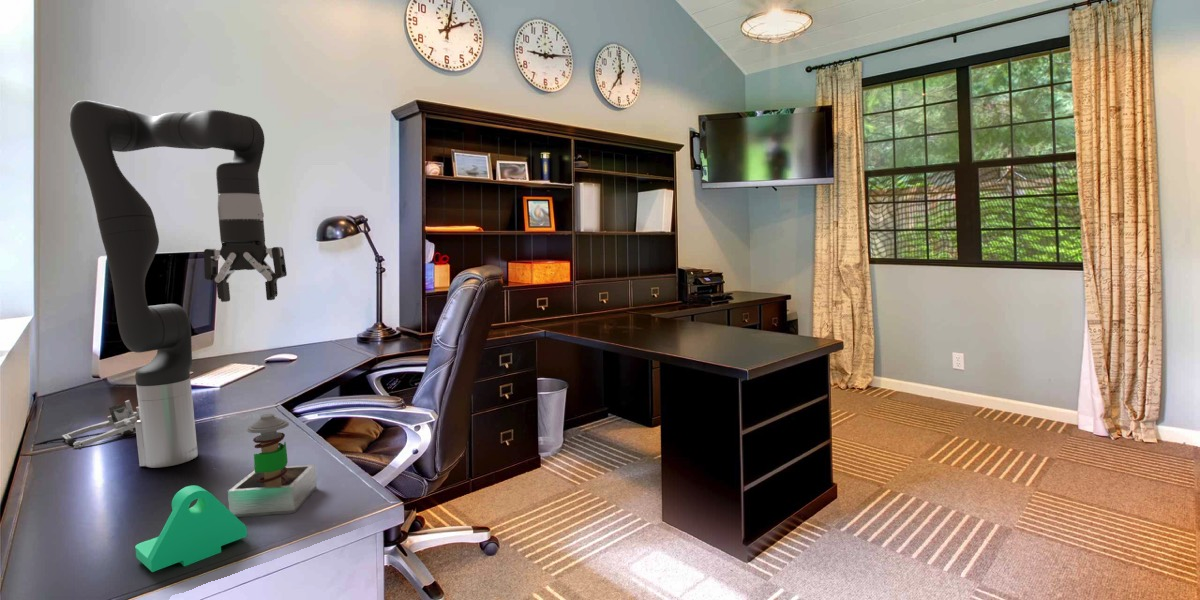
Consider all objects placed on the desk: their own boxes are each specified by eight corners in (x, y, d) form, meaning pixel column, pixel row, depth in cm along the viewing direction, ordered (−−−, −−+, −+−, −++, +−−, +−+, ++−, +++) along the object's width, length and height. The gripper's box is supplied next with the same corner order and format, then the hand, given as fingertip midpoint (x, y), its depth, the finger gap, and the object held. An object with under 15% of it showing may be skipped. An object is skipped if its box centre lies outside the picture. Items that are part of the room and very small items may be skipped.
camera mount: (227, 529, 95) (221, 467, 94) (247, 543, 90) (242, 477, 89) (135, 562, 86) (127, 493, 85) (153, 579, 81) (145, 507, 80)
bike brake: (138, 420, 156) (37, 454, 141) (131, 396, 154) (28, 427, 139) (155, 430, 148) (50, 467, 133) (147, 404, 146) (40, 439, 131)
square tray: (230, 517, 99) (227, 491, 98) (258, 492, 109) (256, 468, 108) (294, 512, 100) (292, 487, 99) (316, 488, 110) (314, 464, 109)
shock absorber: (283, 488, 109) (276, 408, 107) (301, 496, 105) (295, 413, 104) (246, 501, 104) (239, 417, 102) (264, 510, 100) (256, 423, 98)
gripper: (191, 218, 112) (199, 304, 114) (271, 216, 113) (278, 301, 115) (213, 219, 119) (220, 300, 121) (287, 218, 121) (293, 297, 122)
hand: (248, 300), depth 118 cm, fingers open, 8 cm apart
